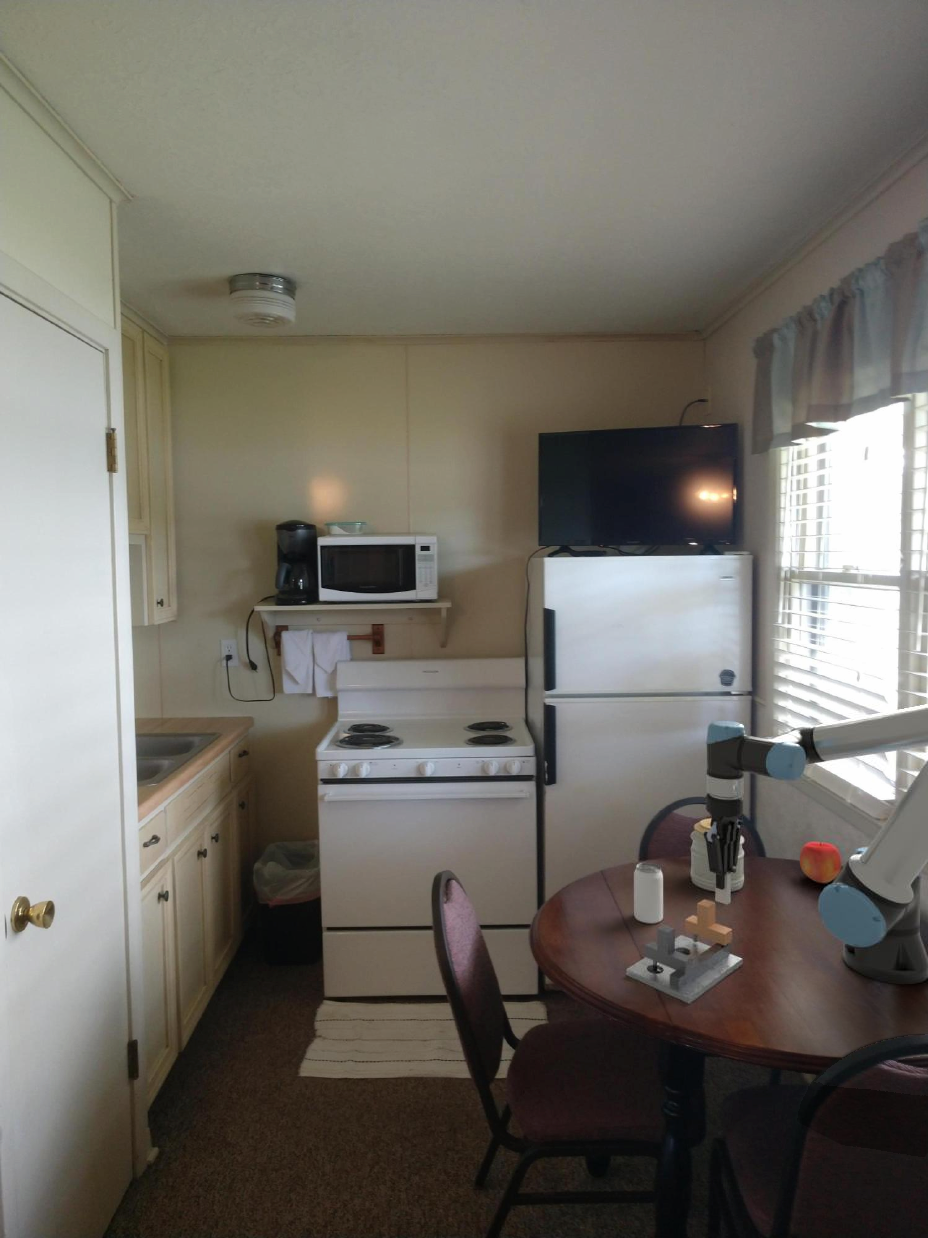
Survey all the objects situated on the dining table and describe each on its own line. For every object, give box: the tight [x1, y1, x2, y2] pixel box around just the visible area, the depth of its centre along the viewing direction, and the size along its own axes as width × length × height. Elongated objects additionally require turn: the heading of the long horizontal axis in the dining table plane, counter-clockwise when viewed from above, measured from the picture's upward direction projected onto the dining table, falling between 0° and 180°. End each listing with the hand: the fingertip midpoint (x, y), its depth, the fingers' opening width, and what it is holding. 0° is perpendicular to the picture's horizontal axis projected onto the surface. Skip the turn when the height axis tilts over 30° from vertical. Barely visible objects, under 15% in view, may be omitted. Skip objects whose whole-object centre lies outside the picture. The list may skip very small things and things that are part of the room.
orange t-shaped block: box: [684, 898, 733, 946], centre depth 158 cm, size 9×3×9 cm, turn 42°
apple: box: [799, 841, 842, 884], centre depth 193 cm, size 10×10×10 cm
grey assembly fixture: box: [625, 924, 743, 1004], centre depth 152 cm, size 14×20×10 cm
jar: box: [690, 817, 745, 892], centre depth 194 cm, size 13×13×18 cm
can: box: [633, 862, 664, 925], centre depth 175 cm, size 6×6×12 cm
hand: (722, 901), depth 164 cm, fingers closed
